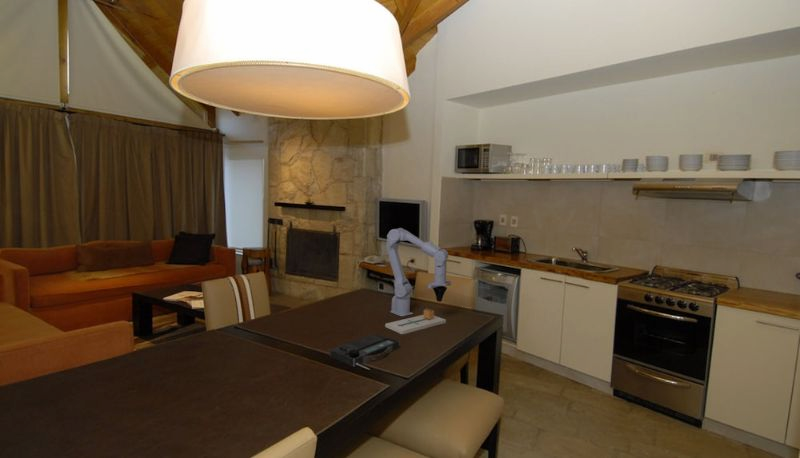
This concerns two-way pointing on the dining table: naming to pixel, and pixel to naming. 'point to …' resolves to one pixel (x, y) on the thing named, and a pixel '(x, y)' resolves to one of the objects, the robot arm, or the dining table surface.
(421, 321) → the fader console
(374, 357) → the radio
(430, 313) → the fader tab
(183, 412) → the dining table surface
